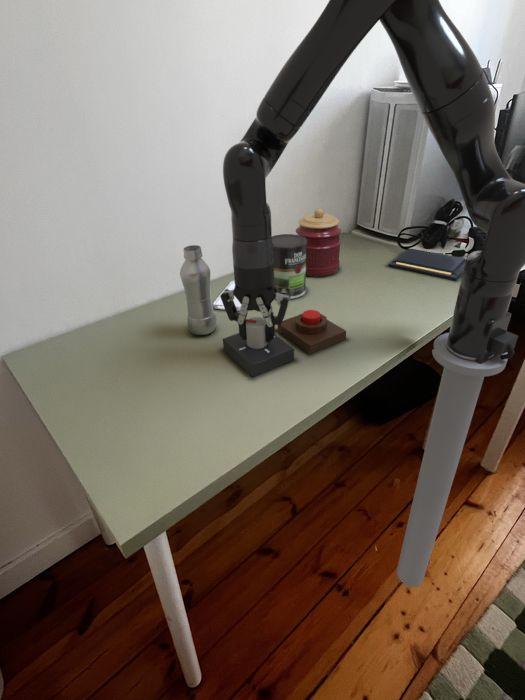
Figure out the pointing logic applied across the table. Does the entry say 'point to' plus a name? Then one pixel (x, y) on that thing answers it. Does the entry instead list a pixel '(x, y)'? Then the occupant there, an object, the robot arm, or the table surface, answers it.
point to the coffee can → (289, 264)
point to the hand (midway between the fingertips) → (257, 338)
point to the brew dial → (256, 332)
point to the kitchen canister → (320, 243)
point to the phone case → (219, 304)
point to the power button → (311, 317)
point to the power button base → (311, 333)
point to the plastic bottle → (197, 291)
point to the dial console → (258, 354)
